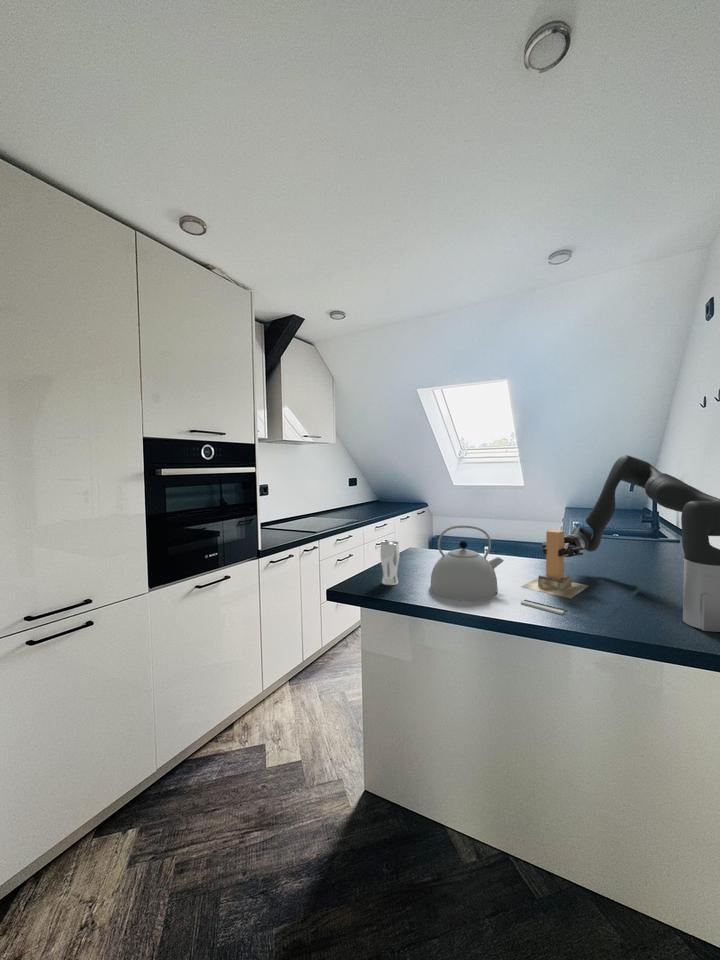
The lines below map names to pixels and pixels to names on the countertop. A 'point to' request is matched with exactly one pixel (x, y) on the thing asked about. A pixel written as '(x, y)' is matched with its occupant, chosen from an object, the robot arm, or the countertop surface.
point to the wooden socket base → (556, 586)
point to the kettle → (465, 573)
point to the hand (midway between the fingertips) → (552, 552)
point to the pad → (544, 607)
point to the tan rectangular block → (554, 554)
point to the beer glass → (389, 562)
